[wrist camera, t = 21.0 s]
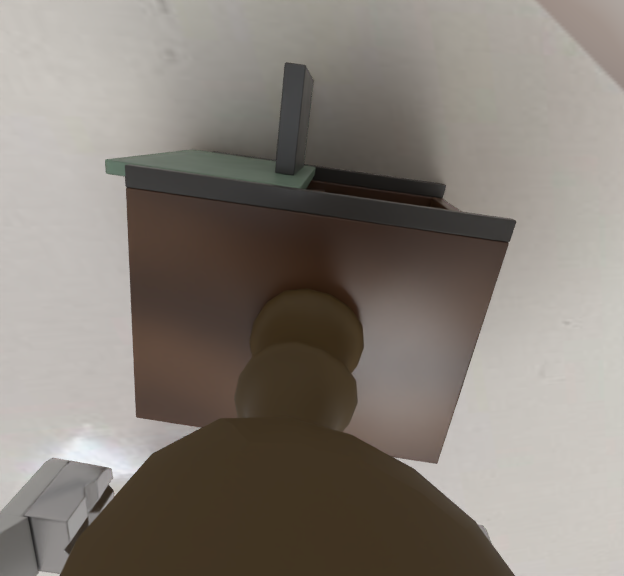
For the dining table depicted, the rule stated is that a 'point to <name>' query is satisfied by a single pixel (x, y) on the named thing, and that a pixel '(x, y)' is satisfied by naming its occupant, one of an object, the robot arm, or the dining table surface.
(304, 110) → the door
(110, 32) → the dining table surface
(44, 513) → the robot arm
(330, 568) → the kendama
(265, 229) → the cabinet
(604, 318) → the dining table surface
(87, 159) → the dining table surface
